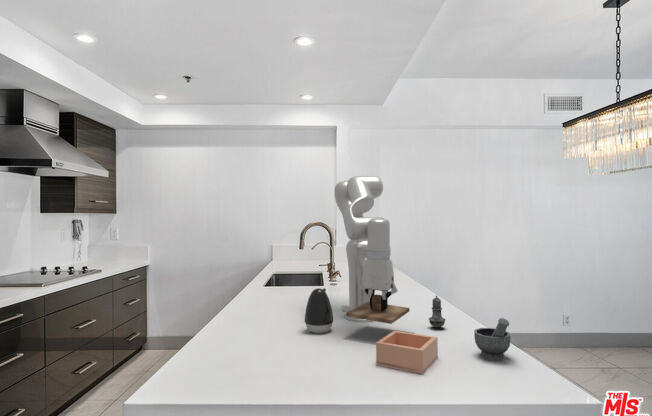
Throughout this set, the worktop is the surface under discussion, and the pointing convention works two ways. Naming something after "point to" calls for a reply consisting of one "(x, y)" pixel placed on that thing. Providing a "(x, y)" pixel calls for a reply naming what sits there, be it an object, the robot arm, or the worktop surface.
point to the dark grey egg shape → (318, 312)
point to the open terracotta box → (407, 351)
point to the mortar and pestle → (493, 341)
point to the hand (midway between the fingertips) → (378, 309)
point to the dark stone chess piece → (437, 315)
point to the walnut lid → (378, 311)
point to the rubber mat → (370, 334)
